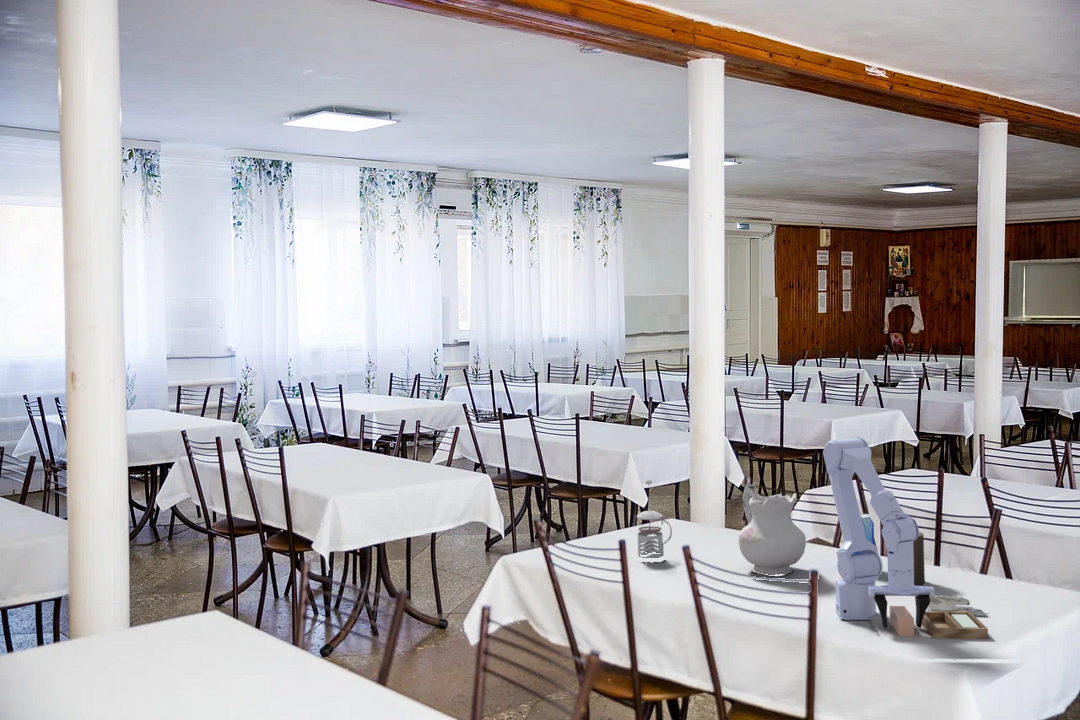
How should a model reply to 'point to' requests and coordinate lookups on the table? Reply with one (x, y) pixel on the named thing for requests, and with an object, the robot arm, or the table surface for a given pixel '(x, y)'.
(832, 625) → the table surface
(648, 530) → the french press
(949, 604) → the fossil rock
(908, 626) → the clay bar
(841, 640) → the table surface
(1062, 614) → the table surface
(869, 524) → the beer can
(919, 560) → the pillar candle
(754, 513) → the ceramic pitcher
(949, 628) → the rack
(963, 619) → the glazed tile
